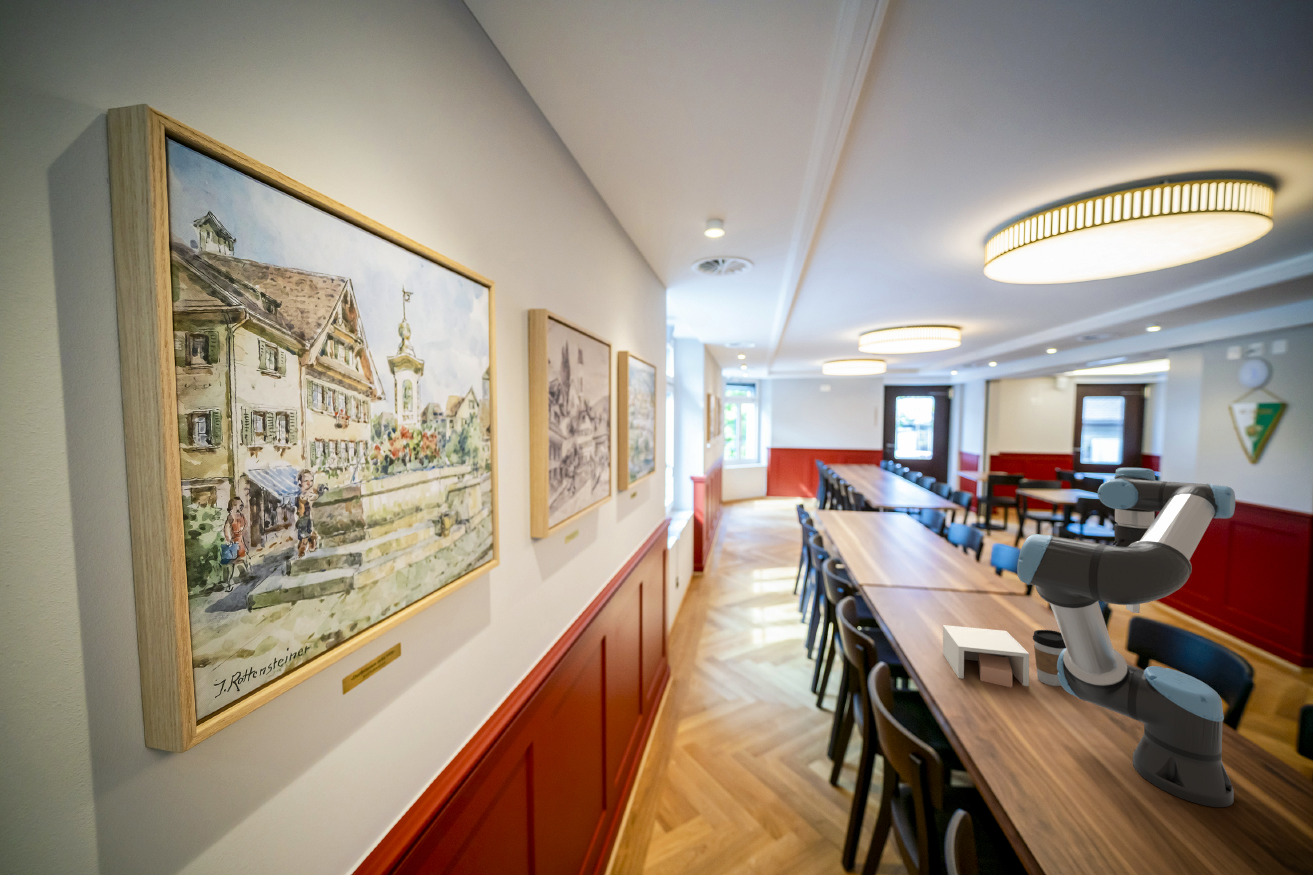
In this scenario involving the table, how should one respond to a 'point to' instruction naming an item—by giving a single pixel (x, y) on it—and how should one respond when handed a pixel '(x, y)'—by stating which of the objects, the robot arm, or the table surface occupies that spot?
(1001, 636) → the shelf
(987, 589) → the table surface
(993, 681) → the pink clay brick
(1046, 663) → the coffee cup
